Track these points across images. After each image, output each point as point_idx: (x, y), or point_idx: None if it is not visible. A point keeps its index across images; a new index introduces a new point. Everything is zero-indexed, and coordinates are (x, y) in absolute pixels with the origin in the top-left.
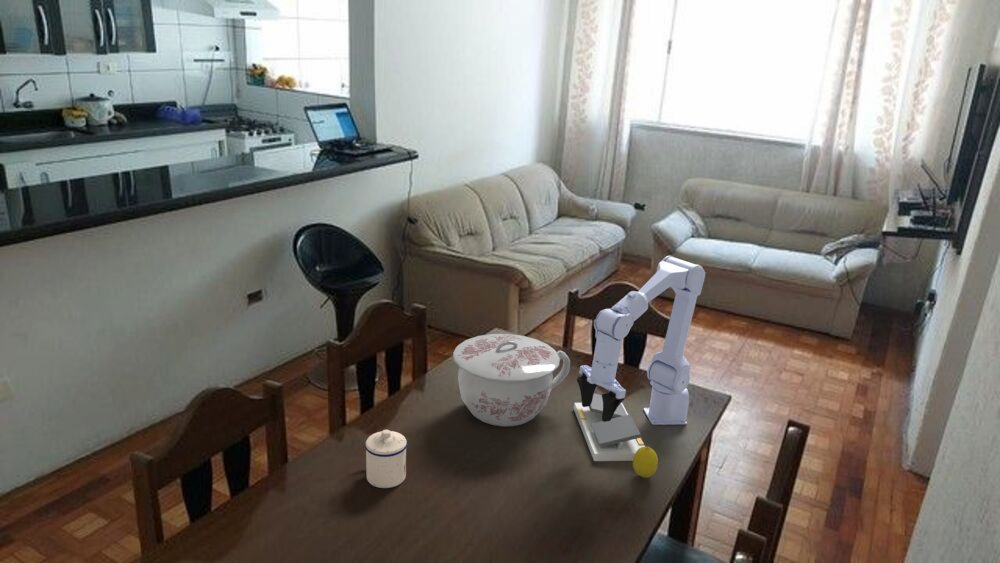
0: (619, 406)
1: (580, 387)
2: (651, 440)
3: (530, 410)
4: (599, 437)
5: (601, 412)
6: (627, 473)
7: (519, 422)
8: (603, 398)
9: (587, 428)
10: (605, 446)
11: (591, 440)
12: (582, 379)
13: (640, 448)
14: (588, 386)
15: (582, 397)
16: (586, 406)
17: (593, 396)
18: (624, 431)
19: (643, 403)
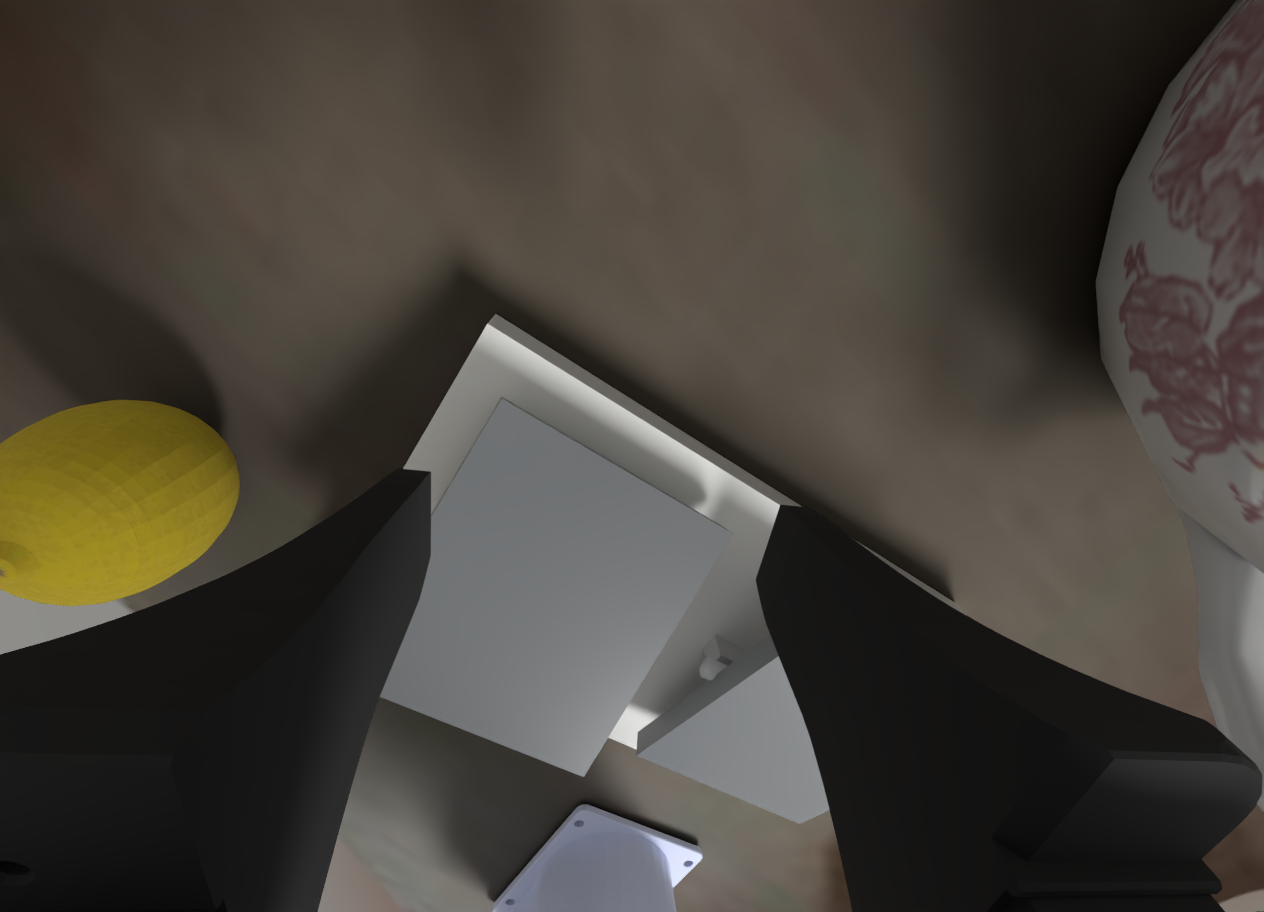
0: (744, 784)
1: (1003, 649)
2: None
3: (1209, 151)
4: (563, 455)
5: (754, 660)
6: (277, 395)
7: (1158, 117)
8: (180, 679)
9: (745, 505)
10: None
11: (628, 427)
12: (1129, 820)
13: (79, 528)
14: (907, 759)
15: (859, 561)
16: (770, 539)
17: None
18: (462, 622)
19: (739, 874)
